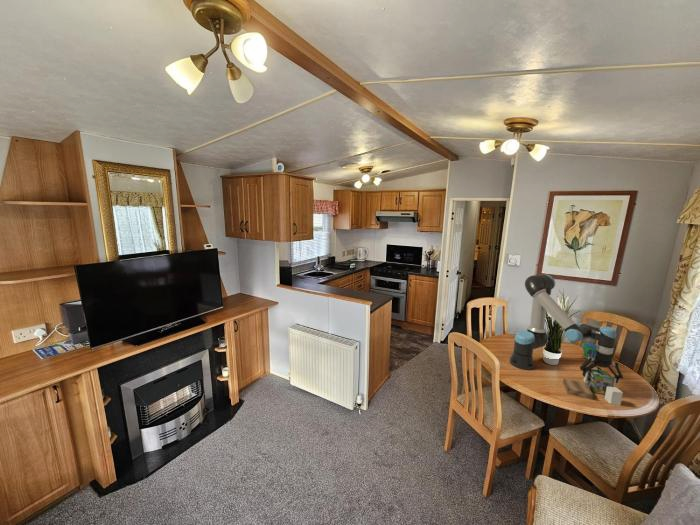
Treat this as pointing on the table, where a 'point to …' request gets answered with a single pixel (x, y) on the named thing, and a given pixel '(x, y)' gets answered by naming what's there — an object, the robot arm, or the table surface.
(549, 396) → the table surface
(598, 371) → the chalk box
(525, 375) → the table surface
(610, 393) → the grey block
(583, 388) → the walnut block
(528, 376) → the table surface
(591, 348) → the snack cup
